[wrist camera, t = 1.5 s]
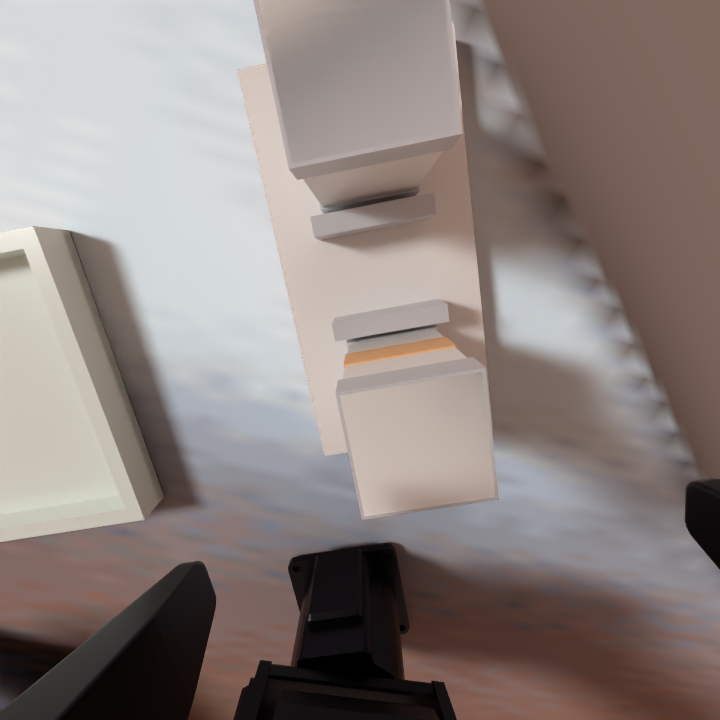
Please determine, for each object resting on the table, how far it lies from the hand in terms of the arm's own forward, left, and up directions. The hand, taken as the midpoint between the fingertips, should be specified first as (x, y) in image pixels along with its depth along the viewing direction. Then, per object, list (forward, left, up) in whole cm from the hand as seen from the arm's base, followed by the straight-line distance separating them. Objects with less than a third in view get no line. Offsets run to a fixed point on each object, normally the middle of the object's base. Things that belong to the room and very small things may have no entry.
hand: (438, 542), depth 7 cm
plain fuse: (+10, 0, -12) cm, 15 cm away
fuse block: (+5, 0, -13) cm, 14 cm away
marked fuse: (0, 0, -12) cm, 12 cm away
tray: (+2, +22, -13) cm, 25 cm away
